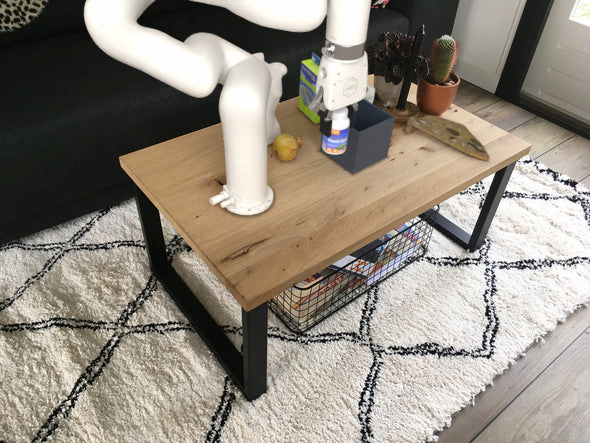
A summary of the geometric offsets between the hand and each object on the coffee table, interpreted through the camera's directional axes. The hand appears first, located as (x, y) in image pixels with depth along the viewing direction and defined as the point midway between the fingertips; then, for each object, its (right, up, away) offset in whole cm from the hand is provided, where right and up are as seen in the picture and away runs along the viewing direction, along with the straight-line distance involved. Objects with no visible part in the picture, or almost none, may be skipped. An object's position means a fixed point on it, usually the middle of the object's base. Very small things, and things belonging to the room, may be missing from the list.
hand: (336, 129), depth 106 cm
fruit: (-11, -2, +28) cm, 31 cm away
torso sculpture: (-19, +3, +34) cm, 39 cm away
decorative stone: (+36, +2, +39) cm, 53 cm away
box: (-4, +12, +45) cm, 47 cm away
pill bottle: (0, -4, +3) cm, 5 cm away
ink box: (+9, +10, +43) cm, 45 cm away
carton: (+7, -1, +31) cm, 31 cm away
